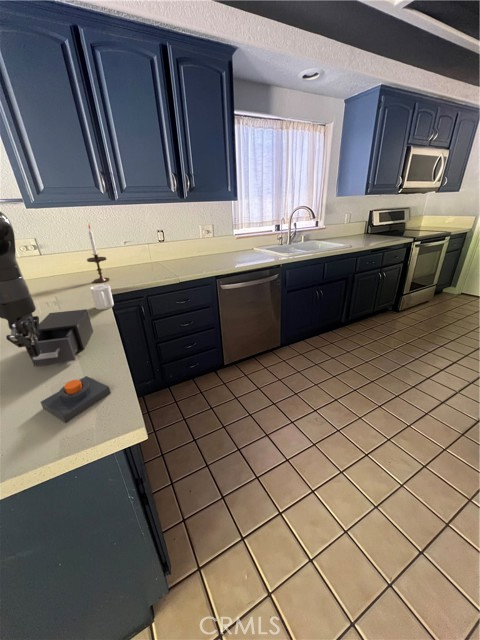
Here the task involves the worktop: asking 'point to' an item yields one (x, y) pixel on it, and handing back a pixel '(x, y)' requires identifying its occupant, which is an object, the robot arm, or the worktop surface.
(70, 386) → the button
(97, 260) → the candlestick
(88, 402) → the block
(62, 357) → the drawer
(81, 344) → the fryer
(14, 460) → the worktop surface
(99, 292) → the cup
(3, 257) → the robot arm
